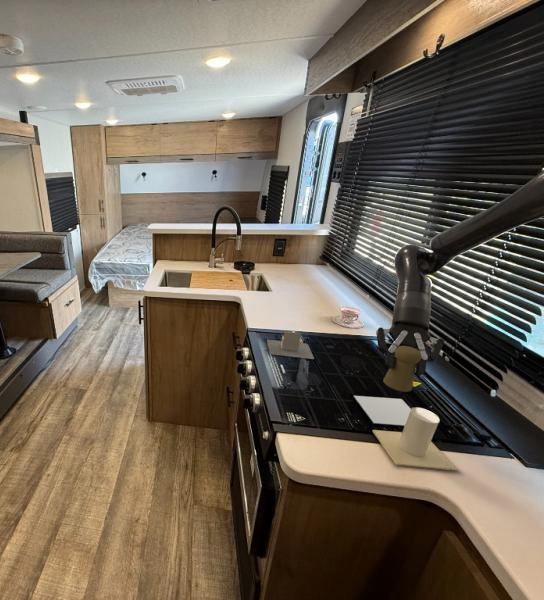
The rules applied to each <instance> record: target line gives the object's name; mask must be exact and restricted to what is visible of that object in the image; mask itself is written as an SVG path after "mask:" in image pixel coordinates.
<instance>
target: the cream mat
mask: <svg viewBox="0 0 544 600" xmlns="http://www.w3.org/2000/svg"><path fill="white" fill-rule="evenodd" d="M372 433H373V434H374V436H375V437H376V439H377V440H378V441H379V443H380V444H381V445H382V447H383V449H384V450H385V452H386V453H387V454H388V455H389V457H390V458H391V459H392V461H393V463H394V464H395V465H396V466H403V467H414V468H426V469H434V470H435V469H436V470H445V471H446V470H447V471H457V468H456V467H455V466H454V465H453V464H452V462H451V461H450V460H449V459H448V458H447V457H446V456H445V455H444V453H442V452H441V450H440V449H439V448H438V447H437V446H436V445H435V443H433V441H431V442H430V445H429V447H428V449H427V451H426V454H425V455H424V456H422V457H417V456H413V455H411V454H409V453H407V452H405V451H404V450H403V449H402V448H401V447H400V446H399V444H398V442H399V439H400V437H401V434H402V431H392V430H391V431H390V430H378V429H372Z"/></svg>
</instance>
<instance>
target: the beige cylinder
mask: <svg viewBox="0 0 544 600" xmlns="http://www.w3.org/2000/svg"><path fill="white" fill-rule="evenodd" d="M440 421H441V420H440V418H439V416H438V415H437V414H435V413H434V412H432V411H430V410H428V409H425V408H423V407H411V411H410V413H409V416H408V418H407V421H406V424H405V426H404V427H403V429H402V431H401V432H402V434H401V437H400V439H399V442H398V444H399V446H400V447H401V448H402V449H403V450H404V451H405V452H407V453H409V454H411V455H413V456H417V457H422V456H424V455H425V454H426V451H427V449H428V447H429V445H430V442H432V440H433V438H434V435H435V433H436V431H437V430H438V429H437V428H438V427H439V424H440Z"/></svg>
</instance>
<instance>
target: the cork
mask: <svg viewBox="0 0 544 600" xmlns="http://www.w3.org/2000/svg"><path fill="white" fill-rule="evenodd" d="M394 354H395V356H394V363H393V368H392V369H389V368H388V371H387V372H386V374H385V376H384V377H383V379H382V380H383V383H384V384H385V385H386V386H387V387H388V388H390V389H393V390H395V391H398V392H404V393H407V392H411V391H412V390H413V384H414V378H415V374H416V366H417V363H418V362H419V361H420V360H421V353H420V351H418V350H417V349H415V348H413V347H409V346H398V347H397V348H396V350H395V351H394Z"/></svg>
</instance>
